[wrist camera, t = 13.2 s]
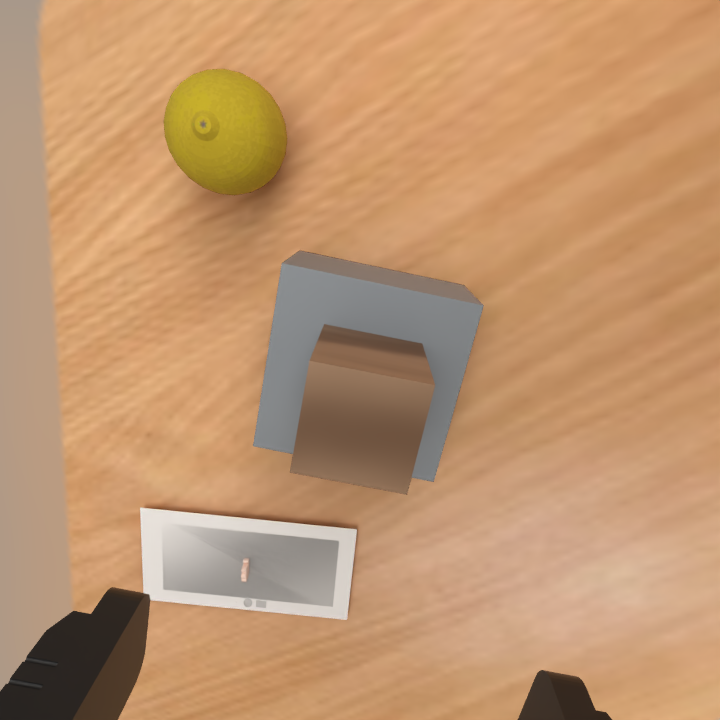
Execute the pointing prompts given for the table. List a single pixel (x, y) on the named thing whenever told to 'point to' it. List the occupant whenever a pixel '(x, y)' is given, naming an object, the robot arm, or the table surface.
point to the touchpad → (247, 563)
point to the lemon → (225, 131)
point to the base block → (372, 315)
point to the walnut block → (363, 410)
